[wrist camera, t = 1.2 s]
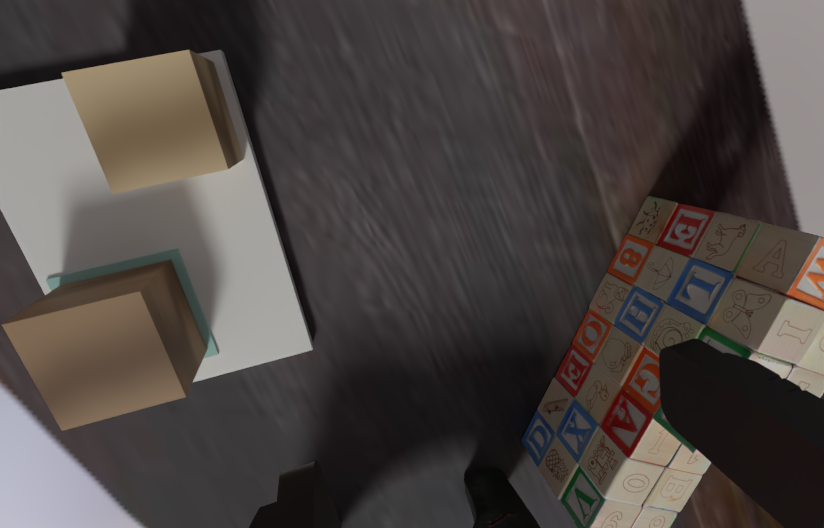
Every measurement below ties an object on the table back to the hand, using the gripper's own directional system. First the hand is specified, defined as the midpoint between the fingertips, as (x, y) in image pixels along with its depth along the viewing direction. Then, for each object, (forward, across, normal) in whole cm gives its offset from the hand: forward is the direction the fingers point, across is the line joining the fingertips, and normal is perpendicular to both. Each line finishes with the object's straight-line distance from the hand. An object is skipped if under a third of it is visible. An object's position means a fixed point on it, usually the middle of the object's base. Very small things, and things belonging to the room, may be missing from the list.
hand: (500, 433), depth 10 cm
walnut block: (+19, +15, +1) cm, 24 cm away
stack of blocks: (+21, -15, +14) cm, 29 cm away
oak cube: (+19, +9, -8) cm, 23 cm away
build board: (+20, +13, -2) cm, 24 cm away
